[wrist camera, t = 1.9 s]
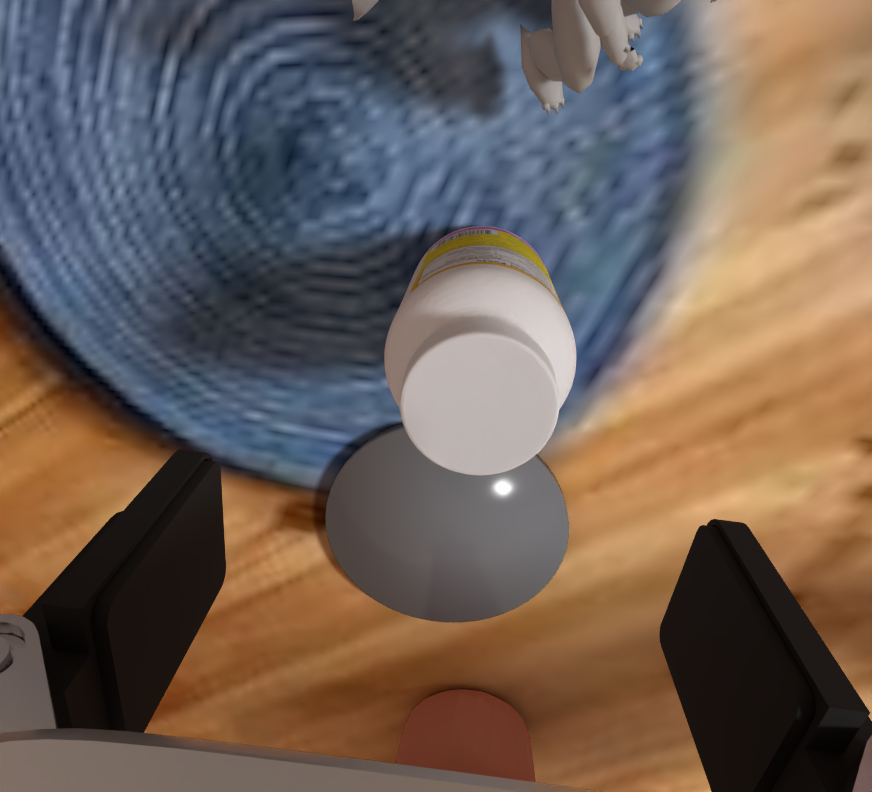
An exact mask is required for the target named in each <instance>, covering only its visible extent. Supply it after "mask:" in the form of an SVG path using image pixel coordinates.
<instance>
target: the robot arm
mask: <svg viewBox="0 0 872 792" xmlns="http://www.w3.org/2000/svg"><path fill="white" fill-rule="evenodd" d="M225 573H226V560H225V542H224V523H223V505H222V486H221V469H220V464H219V463H218V462H213V461H212V458H211V455H210V454H208V453H202V452H195V451H187V450H178V451H176V452H175V453H174V454H173V455H172V456H171V458H170V459H169V460H168V461H167V462H166V463H165V464H164V465H163V467H162V468H161V469H160V470H159V471H158V472H157V473H156V475H155V476H154V477H153V478H152V479H151V480H150V481H149V482H148V484H147V485H146V486H145V487H144V488H143V489H142V490H141V492H140V493H139V494H138V495H137V496H136V497H135V498H134V499H133V501H132V502H131V503H130V504H129V505H128V506H127V507H126V509H125V510H124V511H122V512H118V513H116V514H115V515H114V516H113V517H111V518H110V519H109V521H108V522H107V523H106V524H105V525H104V526H103V527H102V528H101V529H100V531H99V532H98V533H97V534H96V535H95V536H94V537H93V538H92V539H91V541H90V542H89V543H88V544H87V545H86V546H85V547H84V548H83V549H82V551H81V552H80V553H79V554H78V555H77V556H76V557H75V558H74V559H73V561H72V562H71V563H70V564H69V565H68V566H67V567H66V568H65V569H64V571H63V572H62V573H61V574H60V575H59V576H58V577H57V578H56V580H55V581H54V582H53V583H52V584H51V585H50V586H49V587H48V588H47V590H46V591H45V592H44V593H43V594H42V595H41V596H40V597H39V598H38V600H37V601H36V602H35V603H34V604H33V605H32V606H31V607H30V608H29V610H28V611H27V612H26V613H25V614H24V615H23V616H17V615H12V614H0V792H603V791H596V790H588V789H581V788H574V787H567V786H560V785H552V784H545V783H537V782H530V781H522V780H515V779H508V778H500V777H493V776H485V775H478V774H470V773H463V772H455V771H447V770H440V769H432V768H425V767H417V766H410V765H402V764H394V763H387V762H379V761H372V760H364V759H356V758H348V757H340V756H332V755H324V754H316V753H309V752H301V751H293V750H285V749H277V748H269V747H261V746H253V745H245V744H238V743H230V742H222V741H212V740H203V739H194V738H185V737H176V736H166V735H157V734H148V733H144V731H145V729H146V727H147V725H148V724H149V722H150V720H151V718H152V716H153V714H154V712H155V710H156V709H157V707H158V705H159V703H160V701H161V699H162V697H163V696H164V694H165V692H166V690H167V688H168V686H169V684H170V682H171V681H172V679H173V677H174V675H175V673H176V671H177V669H178V667H179V666H180V664H181V662H182V660H183V658H184V656H185V654H186V653H187V651H188V649H189V647H190V645H191V643H192V641H193V639H194V638H195V636H196V634H197V632H198V630H199V628H200V626H201V624H202V623H203V621H204V619H205V617H206V615H207V613H208V611H209V610H210V608H211V606H212V604H213V602H214V600H215V598H216V596H217V595H218V593H219V591H220V589H221V587H222V585H223V582H224V578H225ZM660 643H661V647H662V650H663V652H664V655H665V658H666V661H667V664H668V667H669V670H670V673H671V675H672V678H673V681H674V684H675V687H676V690H677V693H678V696H679V699H680V701H681V704H682V707H683V710H684V713H685V716H686V719H687V722H688V724H689V727H690V730H691V733H692V736H693V739H694V742H695V745H696V748H697V750H698V753H699V756H700V759H701V762H702V765H703V768H704V771H705V773H706V776H707V779H708V782H709V785H710V788H711V791H712V792H872V721H871V720H870V718H869V717H868V715H869V714H870V712H869V710H868V709H867V707H866V706H865V704H864V703H863V701H862V700H861V698H860V697H859V695H858V694H857V692H856V691H855V689H854V688H853V686H852V685H851V683H850V681H849V680H848V678H847V677H846V675H845V674H844V672H843V671H842V669H841V668H840V666H839V665H838V663H837V662H836V660H835V659H834V657H833V656H832V654H831V652H830V651H829V649H828V648H827V646H826V645H825V643H824V642H823V640H822V639H821V637H820V636H819V634H818V633H817V631H816V630H815V628H814V627H813V625H812V624H811V622H810V620H809V619H808V617H807V616H806V614H805V613H804V611H803V610H802V608H801V607H800V605H799V604H798V602H797V601H796V599H795V598H794V596H793V595H792V593H791V591H790V590H789V588H788V587H787V585H786V584H785V582H784V581H783V579H782V578H781V576H780V575H779V573H778V572H777V570H776V569H775V567H774V566H773V564H772V563H771V561H770V559H769V558H768V556H767V555H766V553H765V552H764V550H763V549H762V547H761V546H760V544H759V543H758V541H757V540H756V538H755V537H754V535H753V534H752V532H751V530H750V529H749V527H748V526H747V525H746V524H744V523H740V522H732V521H725V520H717V519H713V520H711V521H710V522H709V523H708V524H707V526H705V525H702V526H700V527H699V528H698V530H697V532H696V535H695V538H694V540H693V543H692V545H691V548H690V551H689V553H688V556H687V558H686V561H685V564H684V566H683V569H682V571H681V574H680V577H679V579H678V582H677V584H676V587H675V590H674V592H673V595H672V597H671V600H670V603H669V605H668V608H667V610H666V613H665V616H664V618H663V621H662V623H661V627H660Z"/></svg>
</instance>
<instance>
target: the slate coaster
mask: <svg viewBox="0 0 872 792" xmlns="http://www.w3.org/2000/svg"><path fill="white" fill-rule="evenodd" d="M325 517H326V531H327V536H328V541H329V543H330V546H331V549H332V552H333V554H334V556H335V558H336V560H337V562H338V563H339V565H340V566H341V568H342V569H343V571H344V572H345V573H346V575H347V576H348V577H349V578H350V579H351V580H352V581H353V582H354V584H355V585H356V586H358V587H359V588H360V589H361V590H362V591H363V592H365V593H366V594H367V595H369V596H370V597H372V598H373V599H374V600H376V601H377V602H379V603H381V604H383V605H385V606H387V607H388V608H390V609H393V610H395V611H398V612H400V613H403V614H405V615H409V616H412V617H415V618H420V619H425V620H430V621H438V622H469V621H477V620H482V619H487V618H491V617H494V616H498V615H501V614H504V613H506V612H508V611H510V610H513V609H515V608H517V607H519V606H520V605H522V604H524V603H525V602H527V601H529V600H530V599H531V598H533V597H534V596H535V595H536V594H538V593H539V592H540V591H541V590H542V589H543V588H544V587H545V586H546V585H547V584H548V583H549V581H550V580H551V579H552V577H553V576H554V575H555V573H556V572H557V570H558V568H559V566H560V564H561V562H562V560H563V557H564V555H565V552H566V548H567V543H568V537H569V521H568V515H567V508H566V504H565V500H564V497H563V493H562V490H561V488H560V486H559V484H558V482H557V480H556V478H555V476H554V474H553V473H552V472H551V470H550V469H549V467H548V466H547V464H546V463H545V462H544V461H543V460H542V459H541V458H540V457H539V456H538V455H537V454H536V455H535V456H534V457H532V458H531V459H530V460H528V461H527V462H525V463H524V464H522V465H520V466H518V467H516V468H514V469H511V470H509V471H506V472H502V473H498V474H493V475H468V474H463V473H459V472H454V471H451V470H448V469H446V468H444V467H442V466H439V465H437V464H436V463H434V462H432V461H431V460H430V459H428V458H427V457H426V456H424V455H423V454H422V453H421V452H420V451H419V450H418V449H417V447H416V446H415V445H414V443H413V442H412V441H411V439H410V438H409V436H408V434H407V432H406V430H405V428H404V425H403V424H399V425H396V426H393V427H391V428H389V429H386V430H384V431H382V432H380V433H378V434H377V435H375V436H373V437H372V438H370V439H368V440H367V441H366V442H364V443H363V444H362V445H361V446H359V447H358V448H357V449H356V450H355V451H354V452H353V453H352V454H351V455H350V456H349V458H348V459H347V460H346V461H345V463H344V464H343V466H342V467H341V469H340V470H339V472H338V474H337V477H336V479H335V481H334V483H333V485H332V488H331V490H330V494H329V497H328V501H327V506H326V514H325Z"/></svg>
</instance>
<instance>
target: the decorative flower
mask: <svg viewBox="0 0 872 792" xmlns="http://www.w3.org/2000/svg"><path fill="white" fill-rule="evenodd" d="M395 764H402V765H410V766H417V767H425V768H432V769H440V770H447V771H455V772H463V773H470V774H478V775H485V776H493V777H500V778H508V779H515V780H522V781H530V782H535V774H534V765H533V757H532V748H531V742H530V738H529V734H528V730H527V727H526V724H525V722H524V721H523V719H522V717H521V716H520V714H519V713H518V712H517V711H516V710H515V709H514V708H513V707H512V706H511V705H509V704H507V703H506V702H504V701H502V700H500V699H498V698H496V697H494V696H492V695H490V694H488V693H485V692H483V691H474V690H466V689H456V690H448V691H444V692H440V693H438V694H435V695H433V696H430V697H427V698H425V699H424V700H422V701H421V702H420V703H419V704H418V705H417V706H416V707H415V708H414V709H413V710H412V711H411V713H410V716H409V718H408V720H407V723H406V725H405V727H404V730H403V732H402V737H401V741H400V745H399V749H398V753H397V757H396V762H395Z"/></svg>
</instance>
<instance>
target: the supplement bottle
mask: <svg viewBox="0 0 872 792" xmlns="http://www.w3.org/2000/svg"><path fill="white" fill-rule="evenodd" d="M384 362H385V373H386V377H387V382H388V385H389V388H390V391H391V393H392V395H393V397H394V400H395V401H396V403H397V405H398V406H399V408H400V413H401V418H402V422H403V425H404V428H405V430H406V432H407V434H408V436H409V438H410V439H411V441H412V442H413V443H414V445H415V446H416V447H417V449H418V450H419V451H420V452H421V453H422V454H423V455H424V456H426V457H427V458H428V459H430V460H431V461H432V462H434V463H436V464H437V465H439V466H442V467H444V468H446V469H448V470H451V471H454V472H459V473H463V474H468V475H493V474H498V473H502V472H506V471H509V470H511V469H514V468H516V467H518V466H520V465H522V464H524V463H525V462H527V461H528V460H530V459H531V458H532V457H534V456H535V455H536V454H537V453H538V452H539V451H540V450H541V449H542V448H543V447H544V445H545V444H546V443H547V441H548V440H549V438H550V436H551V434H552V433H553V430H554V428H555V426H556V423H557V419H558V413H559V409H560V408H561V406H562V405H563V403H564V401H565V400H566V398H567V396H568V394H569V391H570V389H571V386H572V383H573V379H574V375H575V369H576V345H575V340H574V336H573V331H572V329H571V326H570V323H569V321H568V318H567V316H566V314H565V312H564V309H563V307H562V305H561V303H560V300H559V298H558V296H557V293H556V291H555V289H554V286H553V284H552V281H551V279H550V277H549V274H548V272H547V270H546V267H545V265H544V264H543V262H542V260H541V258H540V257H539V255H538V254H537V253H536V251H535V250H534V249H533V248H532V247H531V246H530V245H529V244H528V243H527V242H526V241H524V240H523V239H522V238H520V237H519V236H517V235H515V234H513V233H511V232H509V231H507V230H504V229H501V228H497V227H491V226H472V227H467V228H463V229H459V230H456V231H454V232H452V233H450V234H448V235H446V236H444V237H443V238H441V239H440V240H439V241H437V242H436V243H435V244H434V245H433V246H432V247H431V248H430V249H429V250H428V251H427V252H426V253H425V255H424V256H423V258H422V259H421V261H420V263H419V264H418V266H417V268H416V270H415V273H414V275H413V277H412V279H411V282H410V284H409V286H408V289H407V291H406V293H405V296H404V298H403V300H402V302H401V304H400V307H399V309H398V311H397V313H396V315H395V317H394V319H393V321H392V323H391V326H390V329H389V332H388V335H387V339H386V344H385V352H384Z"/></svg>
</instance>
